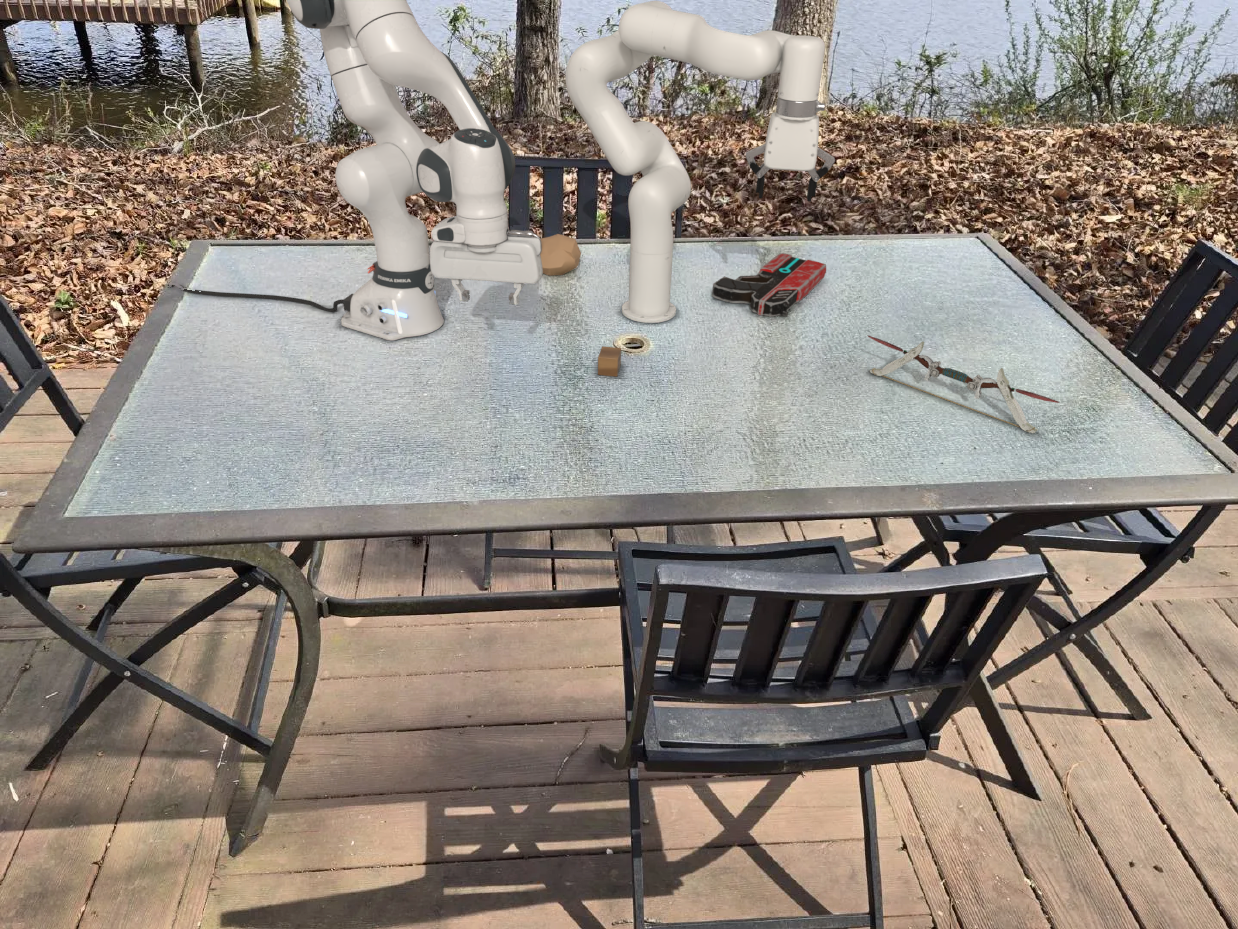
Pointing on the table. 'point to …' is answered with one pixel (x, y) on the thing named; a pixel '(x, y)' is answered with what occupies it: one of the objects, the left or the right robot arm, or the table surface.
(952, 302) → the table surface
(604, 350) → the block
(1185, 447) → the table surface
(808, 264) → the gun
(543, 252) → the squash
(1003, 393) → the bow
